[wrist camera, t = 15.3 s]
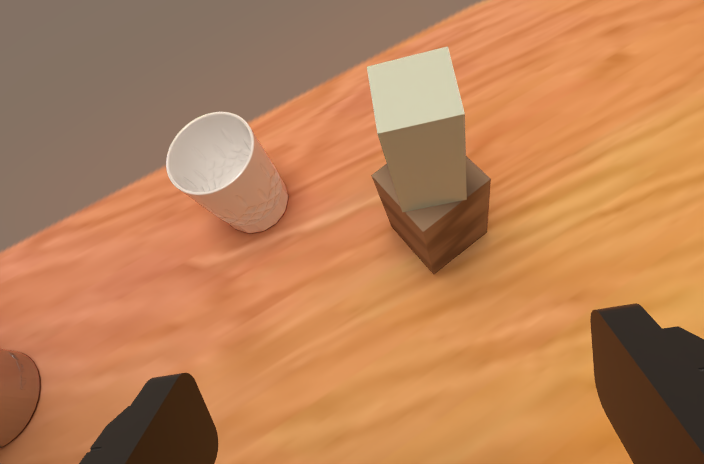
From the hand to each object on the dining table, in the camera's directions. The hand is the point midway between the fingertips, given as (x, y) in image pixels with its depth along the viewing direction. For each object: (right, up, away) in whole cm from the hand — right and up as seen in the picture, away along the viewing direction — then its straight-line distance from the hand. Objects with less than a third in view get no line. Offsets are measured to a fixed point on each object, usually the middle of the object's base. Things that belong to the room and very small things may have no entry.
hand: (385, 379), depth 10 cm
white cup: (-10, +6, +40) cm, 41 cm away
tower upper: (+6, +5, +30) cm, 31 cm away
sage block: (+5, +7, +25) cm, 26 cm away
